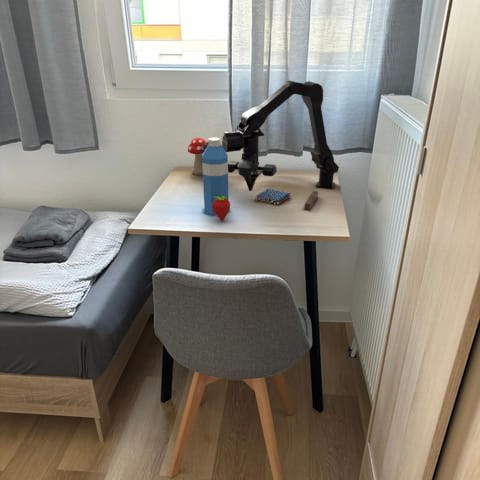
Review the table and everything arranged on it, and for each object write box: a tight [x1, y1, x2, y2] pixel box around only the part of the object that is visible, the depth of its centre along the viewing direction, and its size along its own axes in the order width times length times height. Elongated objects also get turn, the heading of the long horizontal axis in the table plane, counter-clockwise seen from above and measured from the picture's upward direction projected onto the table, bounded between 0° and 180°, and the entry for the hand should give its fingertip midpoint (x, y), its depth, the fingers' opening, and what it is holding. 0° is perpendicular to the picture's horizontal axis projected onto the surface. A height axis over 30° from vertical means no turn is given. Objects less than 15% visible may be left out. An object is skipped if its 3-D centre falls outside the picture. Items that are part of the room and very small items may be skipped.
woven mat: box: [255, 188, 292, 205], centre depth 185 cm, size 10×11×2 cm
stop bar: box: [303, 190, 319, 211], centre depth 181 cm, size 14×2×2 cm, turn 161°
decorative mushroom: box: [187, 137, 207, 176], centre depth 209 cm, size 10×9×15 cm
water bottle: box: [202, 137, 230, 216], centre depth 169 cm, size 9×9×25 cm
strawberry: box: [212, 192, 231, 222], centre depth 166 cm, size 6×8×10 cm
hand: (250, 190), depth 187 cm, fingers closed
